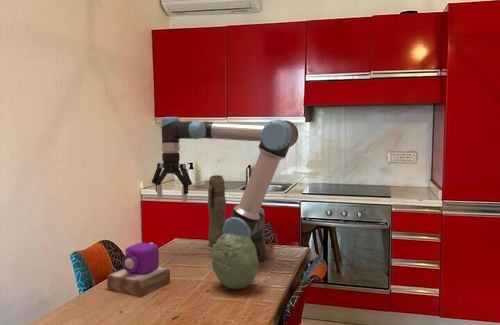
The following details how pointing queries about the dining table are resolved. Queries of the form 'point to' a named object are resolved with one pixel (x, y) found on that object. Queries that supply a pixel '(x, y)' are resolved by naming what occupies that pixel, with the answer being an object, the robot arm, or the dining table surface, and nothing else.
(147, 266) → the toy camera
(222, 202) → the olive green segmented column
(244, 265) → the cabbage
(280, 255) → the dining table surface
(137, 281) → the stand
